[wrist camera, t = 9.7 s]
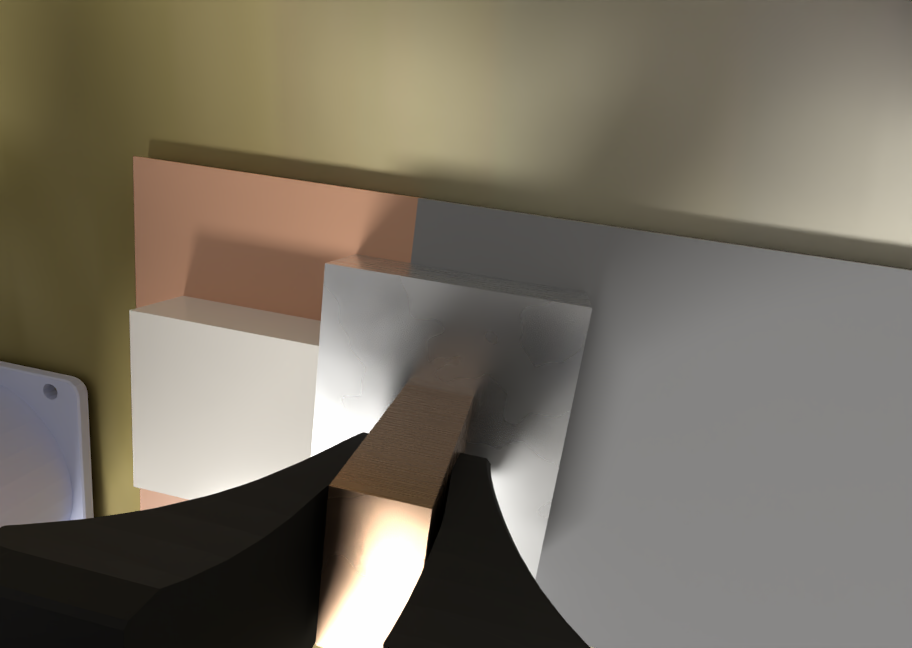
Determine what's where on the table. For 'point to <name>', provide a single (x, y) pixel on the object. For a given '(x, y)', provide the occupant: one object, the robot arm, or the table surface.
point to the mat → (634, 400)
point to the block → (218, 394)
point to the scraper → (432, 420)
